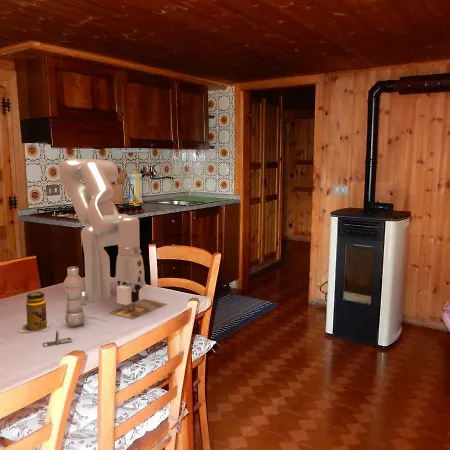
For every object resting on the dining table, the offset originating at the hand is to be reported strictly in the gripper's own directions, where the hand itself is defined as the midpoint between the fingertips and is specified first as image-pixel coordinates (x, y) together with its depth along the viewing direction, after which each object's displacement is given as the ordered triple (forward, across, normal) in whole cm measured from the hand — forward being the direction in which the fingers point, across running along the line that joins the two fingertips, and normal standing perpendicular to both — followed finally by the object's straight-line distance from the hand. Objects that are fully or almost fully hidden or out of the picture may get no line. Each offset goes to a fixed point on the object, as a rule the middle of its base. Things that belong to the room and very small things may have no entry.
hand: (130, 299), depth 159 cm
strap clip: (+7, +2, +30) cm, 31 cm away
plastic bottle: (+6, +10, +17) cm, 20 cm away
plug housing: (0, 0, 0) cm, 0 cm away
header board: (+6, 0, -4) cm, 8 cm away
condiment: (+6, +19, +26) cm, 33 cm away
